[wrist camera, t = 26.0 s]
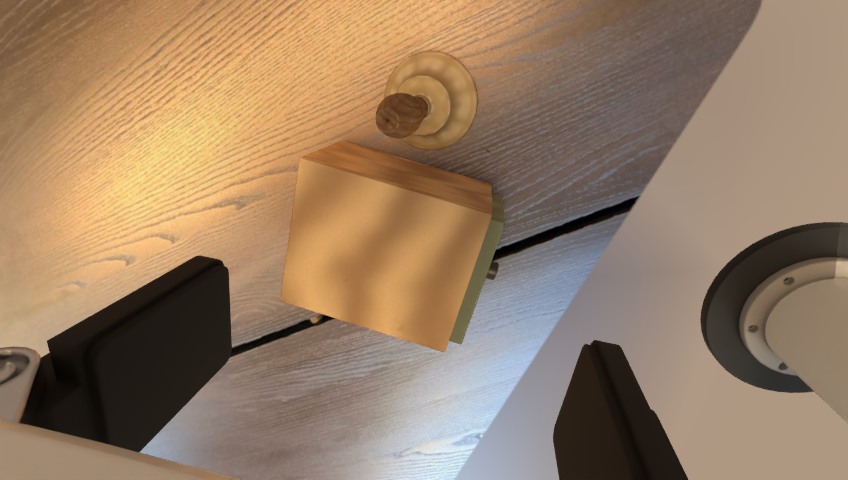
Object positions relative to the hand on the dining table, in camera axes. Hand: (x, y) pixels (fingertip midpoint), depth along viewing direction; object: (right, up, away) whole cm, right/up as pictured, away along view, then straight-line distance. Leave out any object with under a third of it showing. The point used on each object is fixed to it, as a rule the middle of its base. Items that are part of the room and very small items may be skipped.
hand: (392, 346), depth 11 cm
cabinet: (-1, +5, +30) cm, 31 cm away
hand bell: (+1, +15, +26) cm, 30 cm away
